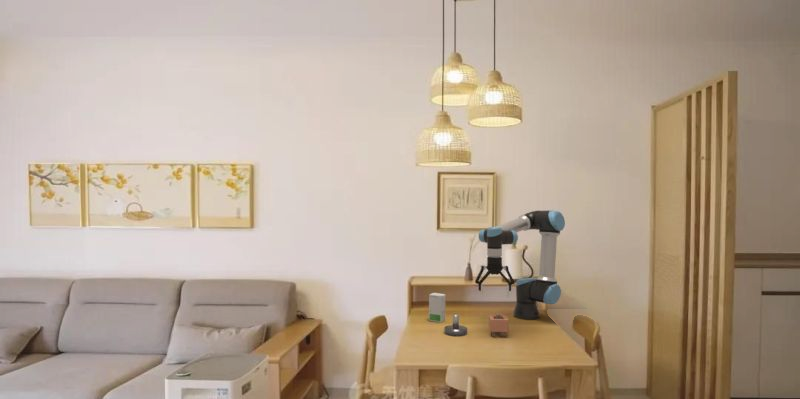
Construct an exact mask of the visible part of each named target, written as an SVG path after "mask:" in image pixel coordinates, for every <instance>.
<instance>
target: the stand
mask: <svg viewBox="0 0 800 399" xmlns="http://www.w3.org/2000/svg"><path fill="white" fill-rule="evenodd" d="M495 315H496V319H501V316H502V315H500V314H495ZM507 333H508V332H491V331H490V334H491V336H492V338H507V337H508V335H507Z"/></svg>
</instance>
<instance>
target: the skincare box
mask: <svg viewBox="0 0 800 399" xmlns="http://www.w3.org/2000/svg"><path fill="white" fill-rule="evenodd" d="M446 297H447V296H446V293H439V292H432V293H430V294H429V297H428V299H429V300H428V321H429V322H435V323H443V322H445V321H446V299H447V298H446Z"/></svg>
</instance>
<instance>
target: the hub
mask: <svg viewBox="0 0 800 399" xmlns="http://www.w3.org/2000/svg"><path fill="white" fill-rule="evenodd" d="M459 322H460V315H459V314H458V313H453V314H452V324H450V325H446V326H444V327H443V329H444V330H443V332H444V335H447V336H450V337H465V336H467V335H468V327H466V326H464V325H460V323H459Z"/></svg>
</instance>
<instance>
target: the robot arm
mask: <svg viewBox="0 0 800 399" xmlns="http://www.w3.org/2000/svg"><path fill="white" fill-rule="evenodd" d="M565 226H566V221H565V217H564V215H563V214H562V212H560V211H558V210H554V209H553V210H532V211H530V212H527V213H525V214H521V215H519V216H518V217H517V218H515V219H513V220H510V221H507V222H505V223H502V224H500V225H497V226H488V228H484V229H481V230H479V231H478V232H479V233H478V239H479V241H480V242H481V243H485V244H487V245H486V247H487V249H486V250H487V253H486V255H487V257H486V258H487V260H486V265H483V264H482V265H481V266H480V270H479V272H478V274H477V276H476V278H475V280H474V283H475V284H477V285H478V291H479V292H480V298H483V295H484V294H483V290H484V289H483V282H484V281H485V280H486V279H487V278H488V277H489V275H490V274H491V275H492V276H493V275H500V277H502V279H503V280H504V281H505V282H506V283H507V284H506V298H507V299H510V292H511V291H512V285H516V286H515V289H516V290H515V291H516V292H515V293H516V294H515V296H516V298H515V299H516V301H515V303H516V304H515V306H514V310H513V317H515V318H517V319H521V320H537V319H540V311H539V309H538V305H537V302H538V303H543V304H545V305H554V304H556V303H557V302H558V301H559V300H560V297H561V295H562V289H561V286H560V285H559V284H558V280H557V278H556V276H555V275H556V274H555V273H556V262H557V260H556V258H557V243H558V242H557V241H558V240H557V239H558V236H559V235H560V234H561V231H563V230H564V228H565ZM529 230H537V231H538V233H539V234H540V236H541V241H540V254H539V255H540V257H539V270H538V271H539V273H538V274H539V275H538V277H526V278H525V277H524V278H523V277H522V278H517V280H516V281H515V280H514V278H513V276H512V274H511V271H509V270H510V269H509V266H508V265H504V266H503V245H512V244H513V245H514V244H516V243H517V242H518V240H519V235H518V233H520V232H521V231H524V232H526V231H529ZM485 270H486V271H487V272H486V273H485V274H484V275H483V273H484V271H485ZM503 270H504V271H505V272H506V273H507V274H506V275H507V276H508V278H509V279H508V278H507V277H506V276H505V275H504V273H503ZM482 275H483V276H482ZM509 280H510V281H509ZM515 283H516V284H515Z"/></svg>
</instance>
